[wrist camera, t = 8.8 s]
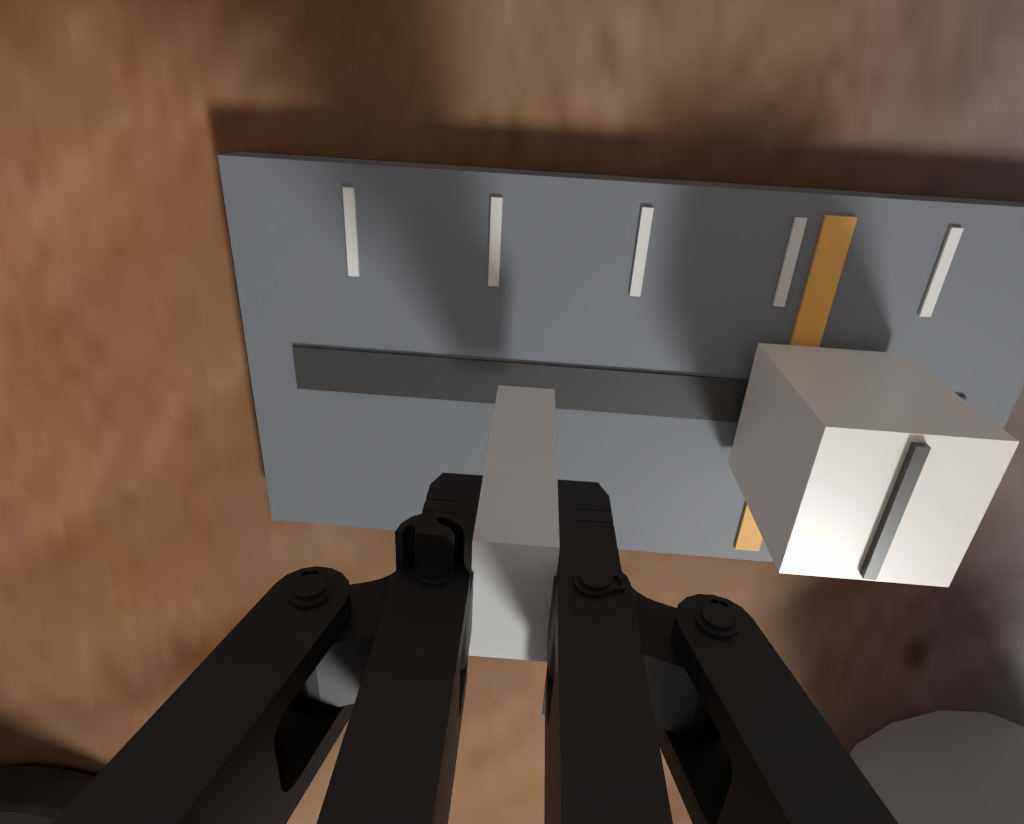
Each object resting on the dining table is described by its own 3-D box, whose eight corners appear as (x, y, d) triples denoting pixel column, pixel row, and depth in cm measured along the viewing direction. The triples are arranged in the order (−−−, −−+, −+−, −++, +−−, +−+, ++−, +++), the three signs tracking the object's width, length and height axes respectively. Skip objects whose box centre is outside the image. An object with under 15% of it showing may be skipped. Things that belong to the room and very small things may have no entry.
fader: (728, 463, 20) (781, 578, 15) (758, 342, 18) (829, 431, 13) (858, 473, 19) (953, 593, 15) (902, 353, 18) (1026, 446, 13)
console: (285, 500, 23) (270, 521, 22) (238, 151, 18) (215, 155, 17) (916, 552, 22) (936, 578, 21) (1070, 205, 17) (1108, 213, 16)
